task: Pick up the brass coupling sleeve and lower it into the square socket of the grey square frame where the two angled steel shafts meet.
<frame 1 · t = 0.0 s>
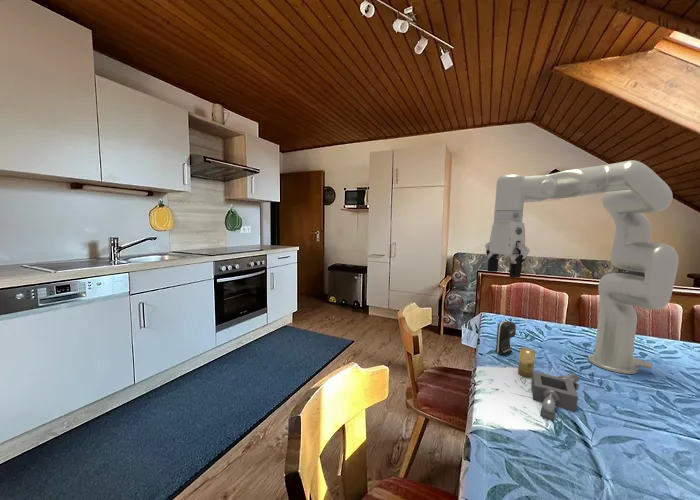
hand: (503, 274, 89), 31 cm above the table, tool pointing down, fingers open, 9 cm apart
battery charger: (504, 353, 107), on the table
shaft b: (568, 381, 84), on the table
coupling sleeve: (525, 375, 91), on the table
grey square frame: (552, 397, 80), on the table
shaft a: (549, 403, 73), on the table
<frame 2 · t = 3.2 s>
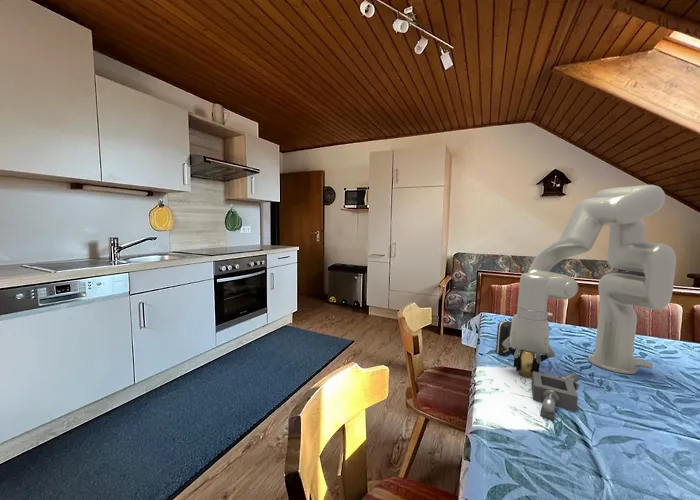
hand: (525, 370, 91), 1 cm above the table, tool pointing down, fingers closed on coupling sleeve, 4 cm apart
coupling sleeve: (525, 375, 91), on the table, touching gripper
everything else where it was.
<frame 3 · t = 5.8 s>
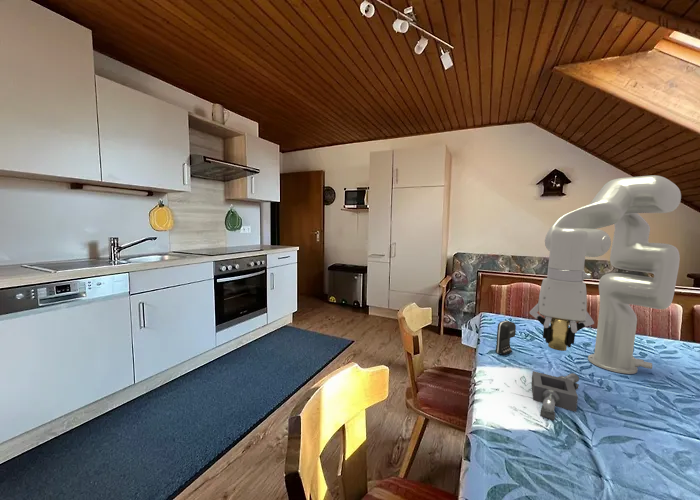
hand: (557, 342, 78), 15 cm above the table, tool pointing down, fingers closed on coupling sleeve, 4 cm apart
coupling sleeve: (557, 347, 78), point 14 cm above the table, touching gripper
everything else where it was.
when the fingers open (5 cm above the table, at t = 8.5 s): coupling sleeve drops 3 cm, resting in grey square frame.
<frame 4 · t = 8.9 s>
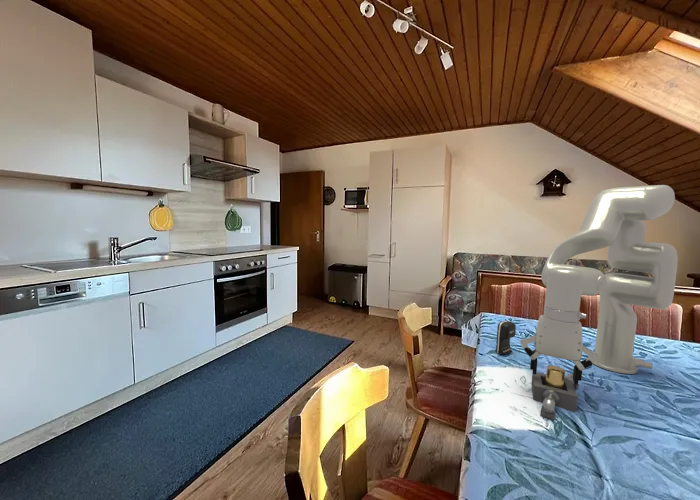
hand: (554, 377, 79), 6 cm above the table, tool pointing down, fingers open, 8 cm apart
coupling sleeve: (552, 397, 80), resting in grey square frame
everything else where it was.
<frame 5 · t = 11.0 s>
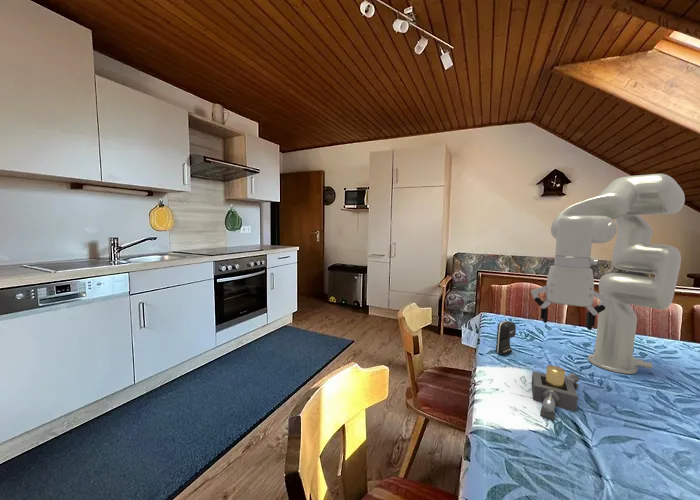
hand: (565, 324, 80), 20 cm above the table, tool pointing down, fingers open, 9 cm apart
nothing on the table moved.
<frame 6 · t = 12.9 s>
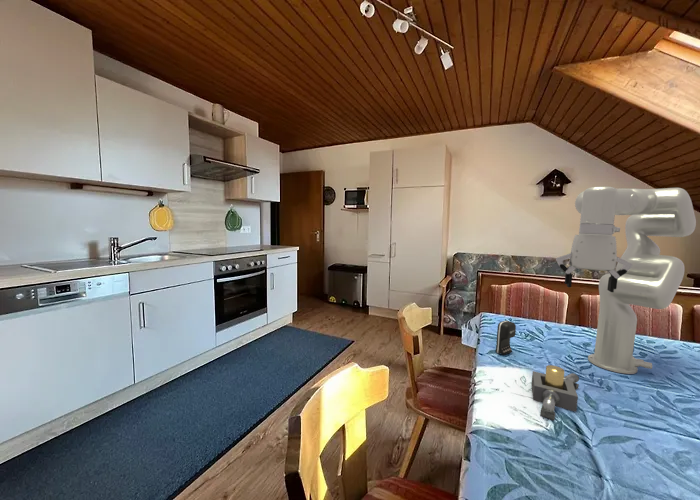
hand: (589, 288, 86), 28 cm above the table, tool pointing down, fingers open, 9 cm apart
nothing on the table moved.
at the end: coupling sleeve 0.1 cm off-centre on the grey square frame, point 0.0 cm above the grey square frame's base; coupling sleeve tilted 1°; the gripper is holding nothing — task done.
